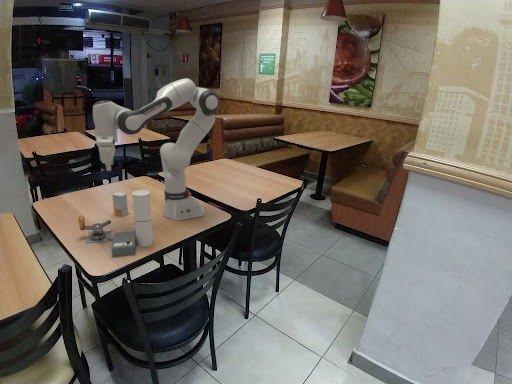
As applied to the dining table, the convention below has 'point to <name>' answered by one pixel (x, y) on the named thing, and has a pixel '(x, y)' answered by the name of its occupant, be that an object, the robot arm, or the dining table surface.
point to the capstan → (94, 228)
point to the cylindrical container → (143, 217)
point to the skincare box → (120, 204)
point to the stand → (118, 242)
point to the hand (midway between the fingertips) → (110, 167)
